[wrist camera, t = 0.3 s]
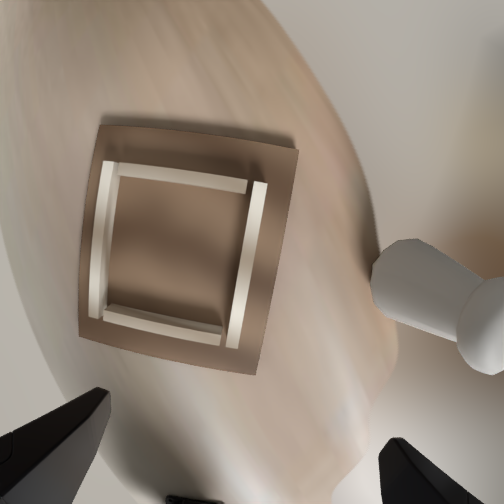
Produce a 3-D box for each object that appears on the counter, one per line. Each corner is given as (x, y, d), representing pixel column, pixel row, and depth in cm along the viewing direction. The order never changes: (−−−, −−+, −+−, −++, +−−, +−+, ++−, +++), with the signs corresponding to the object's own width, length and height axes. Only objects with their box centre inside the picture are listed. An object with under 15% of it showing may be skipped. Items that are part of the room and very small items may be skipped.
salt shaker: (397, 322, 22) (499, 410, 10) (344, 286, 22) (443, 374, 9) (437, 261, 22) (561, 306, 9) (388, 219, 21) (520, 239, 8)
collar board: (255, 369, 23) (255, 386, 20) (84, 331, 22) (70, 343, 20) (296, 152, 20) (303, 145, 18) (105, 127, 20) (90, 120, 17)
